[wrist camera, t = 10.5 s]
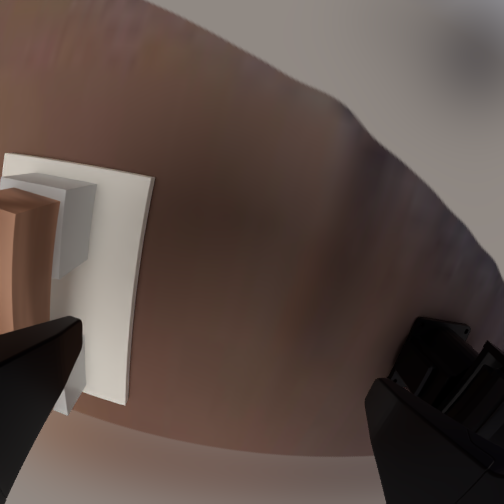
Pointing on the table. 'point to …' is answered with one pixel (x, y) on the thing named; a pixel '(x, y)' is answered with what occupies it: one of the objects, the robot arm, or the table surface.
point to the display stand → (92, 263)
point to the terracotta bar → (26, 257)
